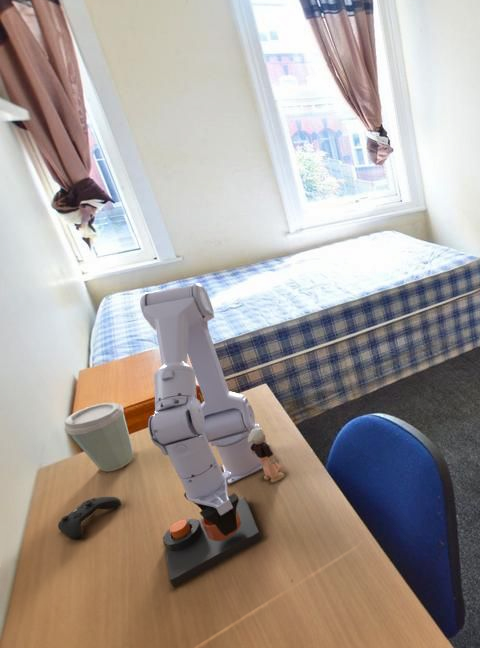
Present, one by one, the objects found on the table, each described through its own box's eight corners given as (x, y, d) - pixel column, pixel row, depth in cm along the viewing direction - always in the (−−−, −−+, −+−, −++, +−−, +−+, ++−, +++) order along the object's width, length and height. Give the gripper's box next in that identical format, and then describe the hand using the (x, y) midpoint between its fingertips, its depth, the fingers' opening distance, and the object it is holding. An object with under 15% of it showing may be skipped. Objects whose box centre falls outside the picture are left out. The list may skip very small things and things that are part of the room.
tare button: (189, 523, 88) (186, 516, 87) (191, 532, 86) (188, 525, 85) (172, 532, 87) (168, 525, 86) (173, 541, 85) (170, 534, 84)
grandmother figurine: (292, 472, 103) (275, 426, 98) (279, 485, 100) (261, 437, 95) (265, 466, 106) (248, 421, 101) (252, 479, 103) (233, 432, 97)
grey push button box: (248, 503, 96) (242, 490, 95) (261, 539, 87) (256, 525, 86) (167, 544, 88) (160, 530, 87) (174, 588, 79) (166, 574, 78)
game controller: (78, 539, 90) (50, 521, 89) (72, 551, 92) (45, 533, 91) (125, 500, 99) (100, 483, 98) (118, 512, 101) (94, 496, 100)
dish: (203, 538, 85) (195, 522, 84) (228, 516, 90) (221, 500, 88) (223, 545, 83) (215, 529, 82) (248, 522, 88) (241, 506, 86)
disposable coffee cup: (119, 447, 118) (93, 397, 112) (156, 448, 116) (131, 397, 110) (78, 478, 108) (47, 425, 102) (118, 479, 106) (88, 426, 101)
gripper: (239, 468, 79) (263, 526, 84) (205, 438, 88) (229, 493, 93) (193, 495, 74) (222, 555, 79) (162, 461, 83) (190, 517, 88)
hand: (223, 524), depth 86 cm, fingers closed on dish, 5 cm apart
